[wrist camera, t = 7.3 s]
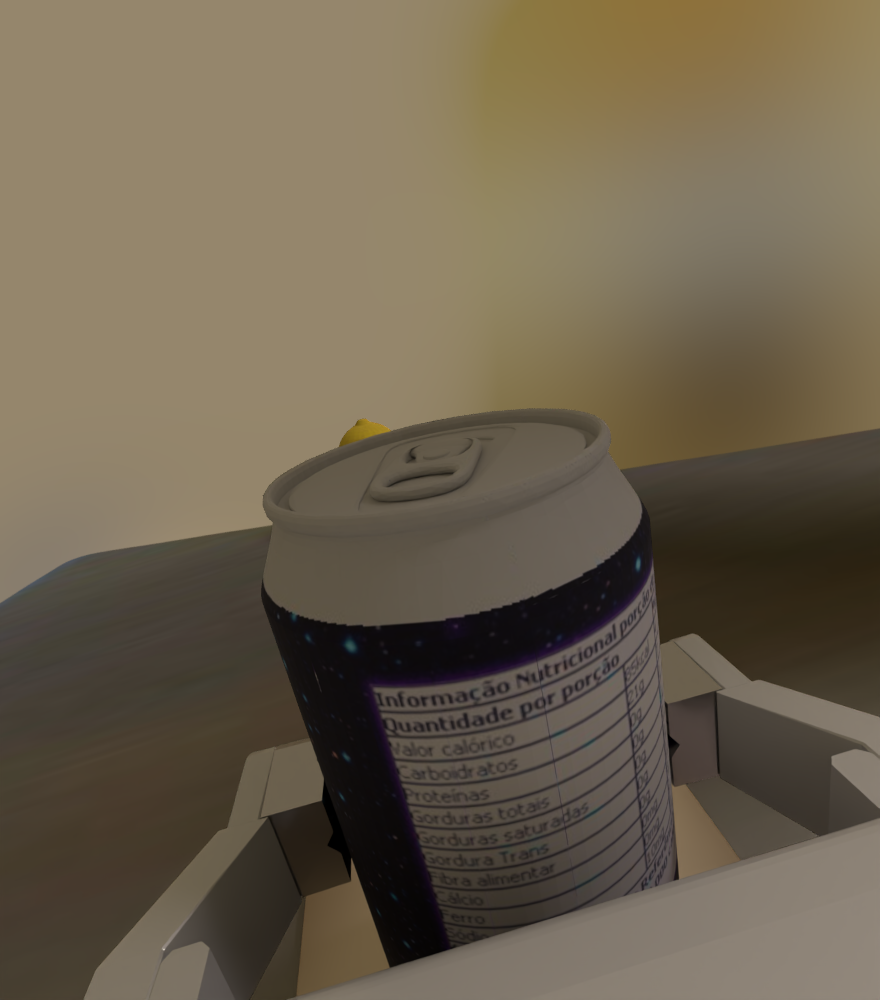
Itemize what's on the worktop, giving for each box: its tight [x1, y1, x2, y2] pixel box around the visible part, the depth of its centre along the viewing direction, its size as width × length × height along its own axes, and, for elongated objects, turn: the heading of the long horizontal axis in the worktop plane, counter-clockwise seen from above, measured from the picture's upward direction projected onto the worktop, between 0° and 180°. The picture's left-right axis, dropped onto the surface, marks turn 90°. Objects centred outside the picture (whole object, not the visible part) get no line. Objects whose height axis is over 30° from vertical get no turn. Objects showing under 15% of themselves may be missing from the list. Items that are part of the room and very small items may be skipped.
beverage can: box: [261, 409, 679, 968], centre depth 10 cm, size 6×6×12 cm
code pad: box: [296, 783, 741, 996], centre depth 11 cm, size 11×11×1 cm
